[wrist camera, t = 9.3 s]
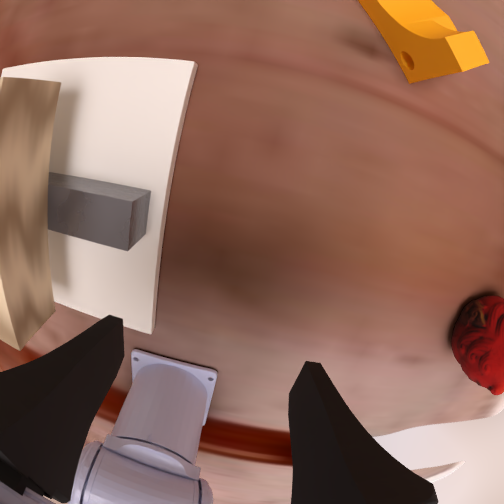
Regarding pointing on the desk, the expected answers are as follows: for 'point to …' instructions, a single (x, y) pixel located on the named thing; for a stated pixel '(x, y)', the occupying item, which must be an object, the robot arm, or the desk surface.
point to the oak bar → (25, 206)
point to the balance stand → (111, 178)
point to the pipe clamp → (424, 38)
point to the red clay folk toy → (481, 342)
